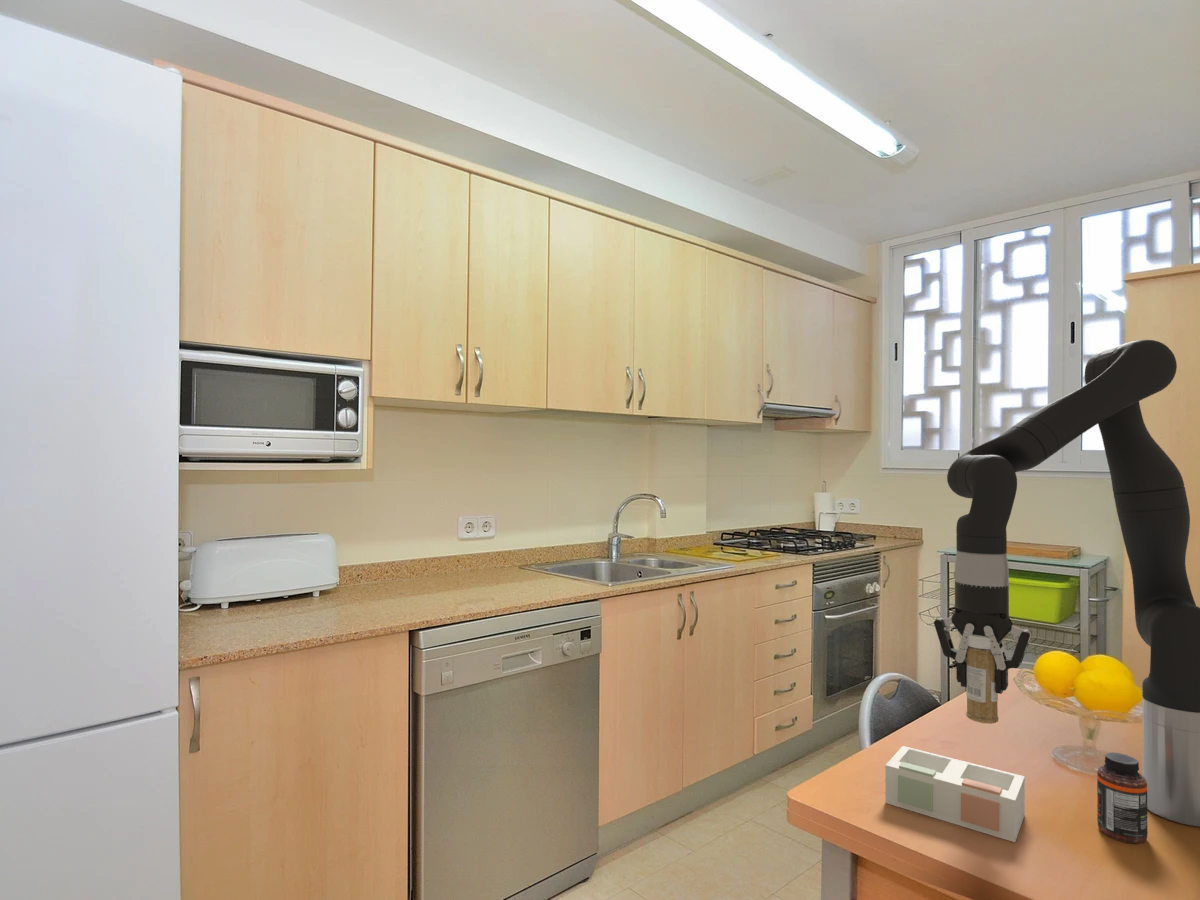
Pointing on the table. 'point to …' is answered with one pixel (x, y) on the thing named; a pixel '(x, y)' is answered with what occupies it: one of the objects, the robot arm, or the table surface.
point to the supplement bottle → (1122, 799)
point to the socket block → (956, 792)
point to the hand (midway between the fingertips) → (981, 688)
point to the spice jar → (981, 681)
